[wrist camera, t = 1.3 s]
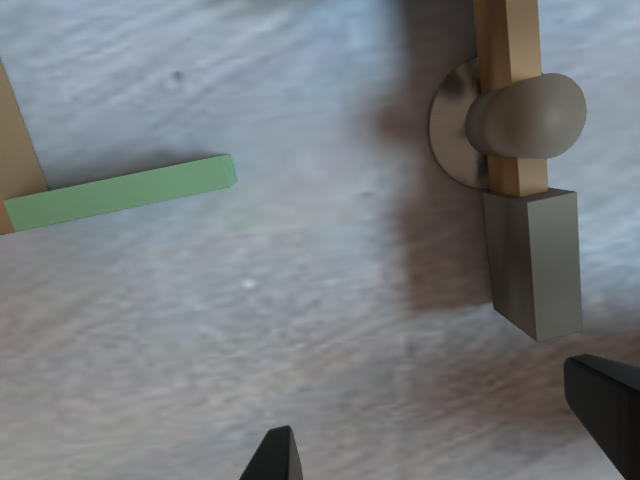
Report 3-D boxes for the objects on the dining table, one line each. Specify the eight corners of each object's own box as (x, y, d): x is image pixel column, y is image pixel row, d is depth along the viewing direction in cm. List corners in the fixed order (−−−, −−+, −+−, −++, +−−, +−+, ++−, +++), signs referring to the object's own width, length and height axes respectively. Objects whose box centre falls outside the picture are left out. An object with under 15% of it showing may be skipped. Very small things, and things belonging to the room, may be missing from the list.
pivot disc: (554, 173, 19) (559, 174, 19) (436, 199, 19) (438, 200, 19) (547, 42, 18) (552, 40, 18) (419, 67, 18) (421, 66, 17)
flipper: (540, 298, 20) (608, 337, 16) (484, 310, 20) (537, 354, 16) (506, -225, 15) (593, -369, 11) (429, -213, 15) (487, -353, 11)
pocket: (237, 180, 18) (228, 187, 15) (31, 223, 18) (-18, 238, 15) (155, -144, 15) (126, -215, 12) (-95, -102, 15) (-188, -164, 12)
